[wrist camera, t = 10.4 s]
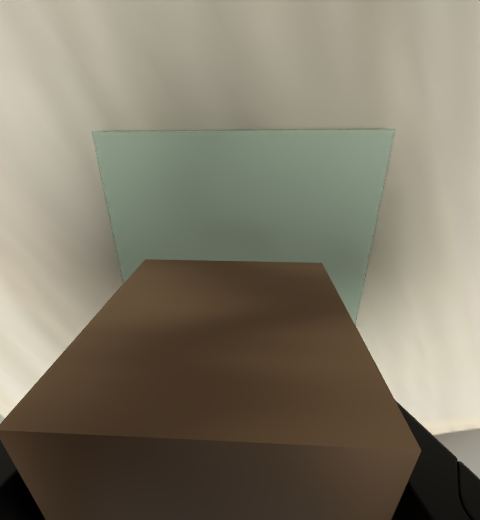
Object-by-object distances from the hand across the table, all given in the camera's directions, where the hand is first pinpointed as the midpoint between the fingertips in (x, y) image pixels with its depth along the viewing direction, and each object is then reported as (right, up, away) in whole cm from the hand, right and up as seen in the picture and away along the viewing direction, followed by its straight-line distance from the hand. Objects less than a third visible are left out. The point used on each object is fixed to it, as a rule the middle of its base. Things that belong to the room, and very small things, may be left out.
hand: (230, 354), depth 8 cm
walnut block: (0, 0, +1) cm, 1 cm away
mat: (0, +3, +7) cm, 8 cm away
